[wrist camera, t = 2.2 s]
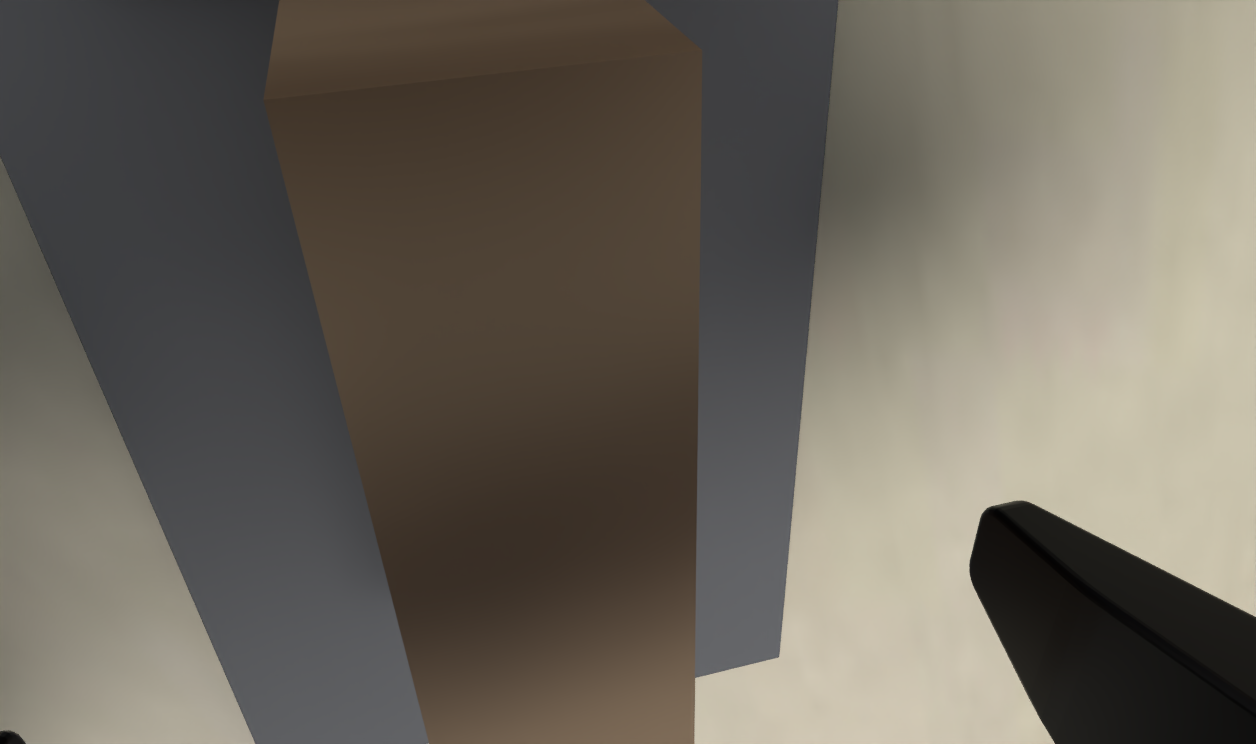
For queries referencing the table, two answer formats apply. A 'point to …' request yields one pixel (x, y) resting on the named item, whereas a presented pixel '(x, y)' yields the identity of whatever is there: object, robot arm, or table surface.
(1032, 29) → the table surface
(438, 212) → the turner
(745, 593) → the grey rectangular plate
